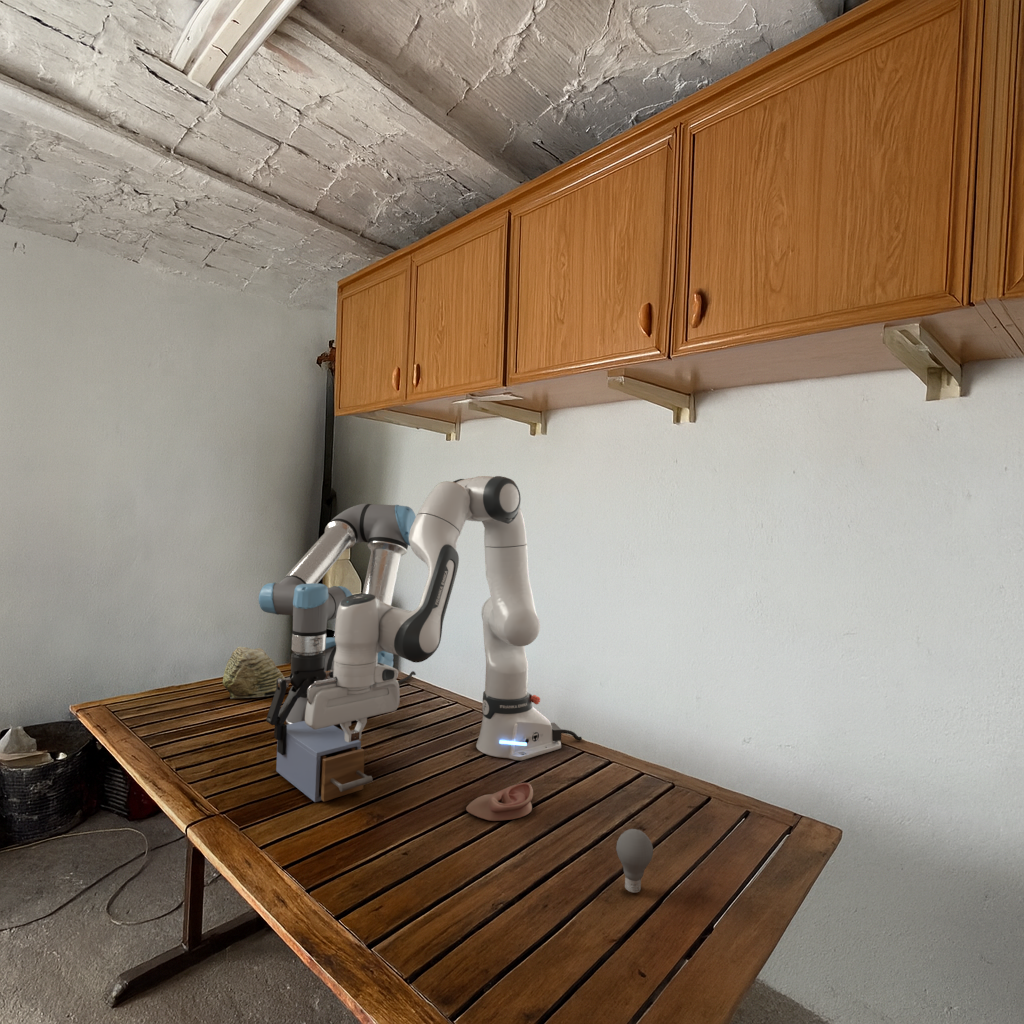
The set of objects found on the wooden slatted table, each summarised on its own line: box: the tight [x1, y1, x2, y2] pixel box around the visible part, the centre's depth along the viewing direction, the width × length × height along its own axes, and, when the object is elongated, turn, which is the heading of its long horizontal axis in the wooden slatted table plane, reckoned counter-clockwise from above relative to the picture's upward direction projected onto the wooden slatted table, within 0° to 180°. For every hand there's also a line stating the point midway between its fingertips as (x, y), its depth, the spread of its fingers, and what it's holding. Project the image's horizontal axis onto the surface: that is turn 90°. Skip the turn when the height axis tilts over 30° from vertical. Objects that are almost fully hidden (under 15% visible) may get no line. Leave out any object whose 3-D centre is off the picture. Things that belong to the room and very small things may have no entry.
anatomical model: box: [465, 782, 534, 822], centre depth 132 cm, size 13×4×12 cm
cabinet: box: [275, 721, 362, 803], centre depth 142 cm, size 19×10×10 cm, turn 44°
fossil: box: [222, 646, 286, 699], centre depth 198 cm, size 9×18×15 cm, turn 132°
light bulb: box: [615, 828, 654, 894], centre depth 106 cm, size 6×6×10 cm
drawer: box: [319, 747, 373, 803], centre depth 137 cm, size 23×9×8 cm, turn 44°
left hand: (304, 747), depth 146 cm, fingers closed on cabinet, 10 cm apart
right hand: (352, 740), depth 131 cm, fingers closed
